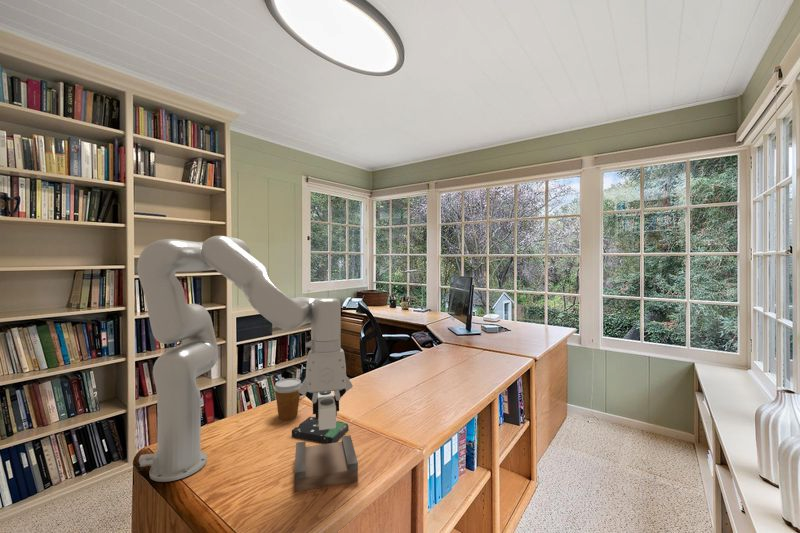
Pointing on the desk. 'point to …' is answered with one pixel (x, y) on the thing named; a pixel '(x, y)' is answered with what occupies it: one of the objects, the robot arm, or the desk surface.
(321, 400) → the white rectangular block
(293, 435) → the disk drive
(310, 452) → the display stand
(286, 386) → the disposable coffee cup
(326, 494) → the desk surface
